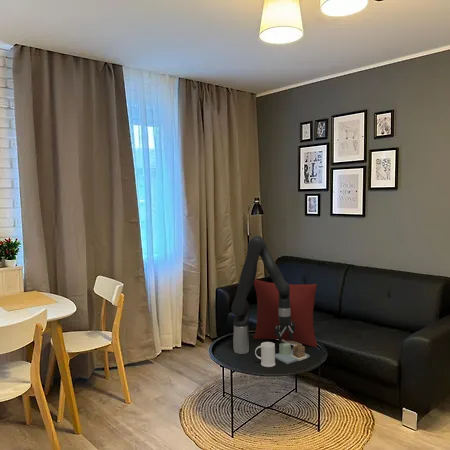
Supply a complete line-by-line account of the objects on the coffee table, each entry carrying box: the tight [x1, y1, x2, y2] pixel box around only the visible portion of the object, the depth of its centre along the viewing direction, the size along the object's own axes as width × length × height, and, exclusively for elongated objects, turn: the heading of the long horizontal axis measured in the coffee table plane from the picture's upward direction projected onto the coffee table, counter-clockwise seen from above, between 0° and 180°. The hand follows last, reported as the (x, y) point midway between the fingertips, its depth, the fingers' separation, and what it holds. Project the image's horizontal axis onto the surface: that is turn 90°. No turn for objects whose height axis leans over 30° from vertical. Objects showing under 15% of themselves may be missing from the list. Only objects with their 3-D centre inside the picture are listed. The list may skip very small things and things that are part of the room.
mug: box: [254, 341, 276, 368], centre depth 256 cm, size 12×8×12 cm
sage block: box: [278, 341, 292, 356], centre depth 268 cm, size 5×5×6 cm
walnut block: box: [292, 343, 306, 358], centre depth 264 cm, size 5×5×6 cm
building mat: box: [275, 348, 311, 365], centre depth 265 cm, size 14×18×1 cm
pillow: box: [253, 278, 318, 349], centre depth 288 cm, size 44×15×42 cm, turn 65°
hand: (285, 340), depth 267 cm, fingers open, 8 cm apart
